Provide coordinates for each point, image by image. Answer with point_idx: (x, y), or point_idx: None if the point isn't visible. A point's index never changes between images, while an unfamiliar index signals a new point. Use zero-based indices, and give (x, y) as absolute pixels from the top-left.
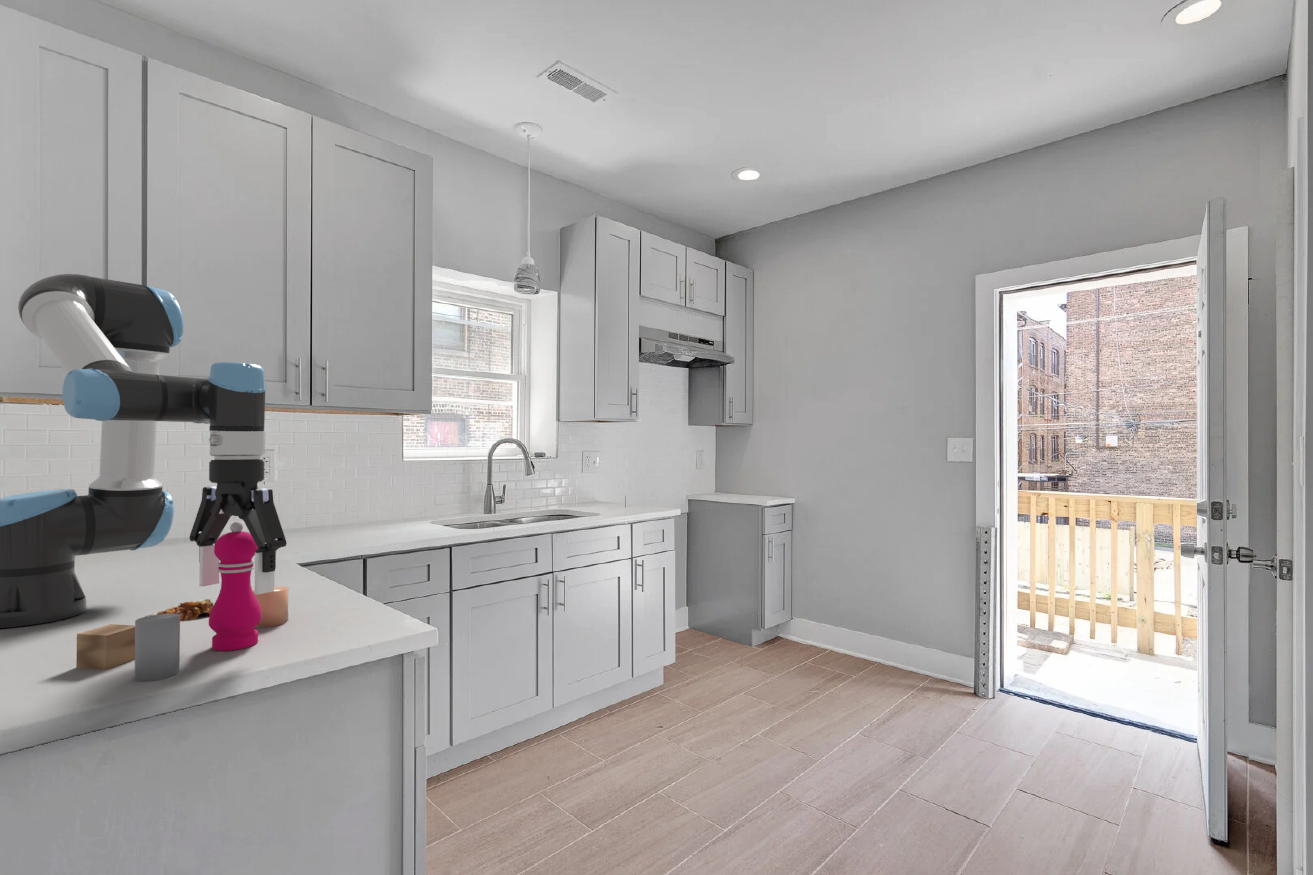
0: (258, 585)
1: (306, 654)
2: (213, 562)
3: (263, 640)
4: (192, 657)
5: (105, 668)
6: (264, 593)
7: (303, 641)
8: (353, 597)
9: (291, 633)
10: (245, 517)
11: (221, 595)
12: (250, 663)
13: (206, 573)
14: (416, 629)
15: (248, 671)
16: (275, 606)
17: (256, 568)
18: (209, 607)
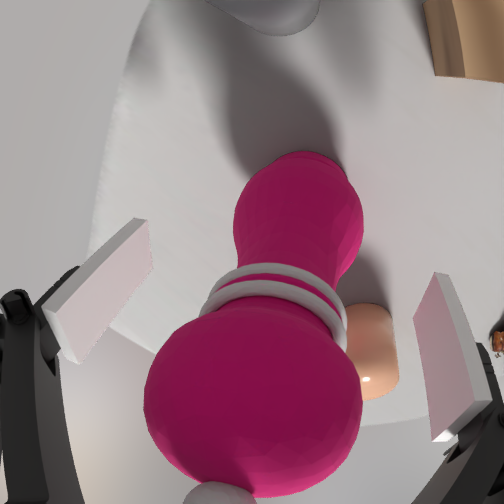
0: (117, 233)
1: (124, 188)
2: (435, 364)
3: None
4: (319, 100)
5: (423, 3)
6: (352, 359)
7: (192, 245)
8: None
9: None
10: (22, 494)
11: (294, 215)
12: (163, 115)
13: (440, 315)
14: None
15: (129, 86)
16: None
17: (88, 267)
18: (502, 343)
